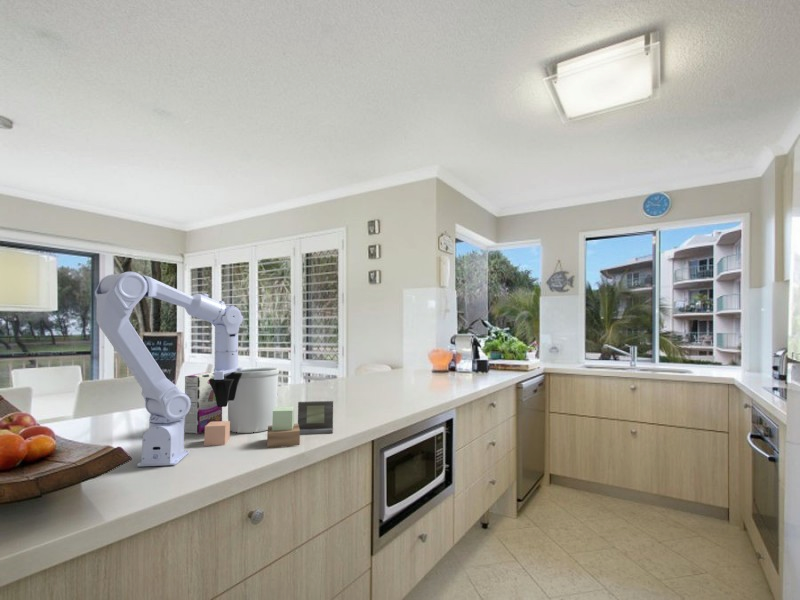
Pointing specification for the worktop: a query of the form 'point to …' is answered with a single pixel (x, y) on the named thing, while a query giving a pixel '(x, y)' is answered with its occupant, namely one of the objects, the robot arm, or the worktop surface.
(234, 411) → the utensil holder
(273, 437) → the walnut base block
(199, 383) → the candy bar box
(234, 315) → the robot arm
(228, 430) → the terracotta cube
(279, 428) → the sage cube
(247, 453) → the worktop surface
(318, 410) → the dark grey box
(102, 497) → the worktop surface
